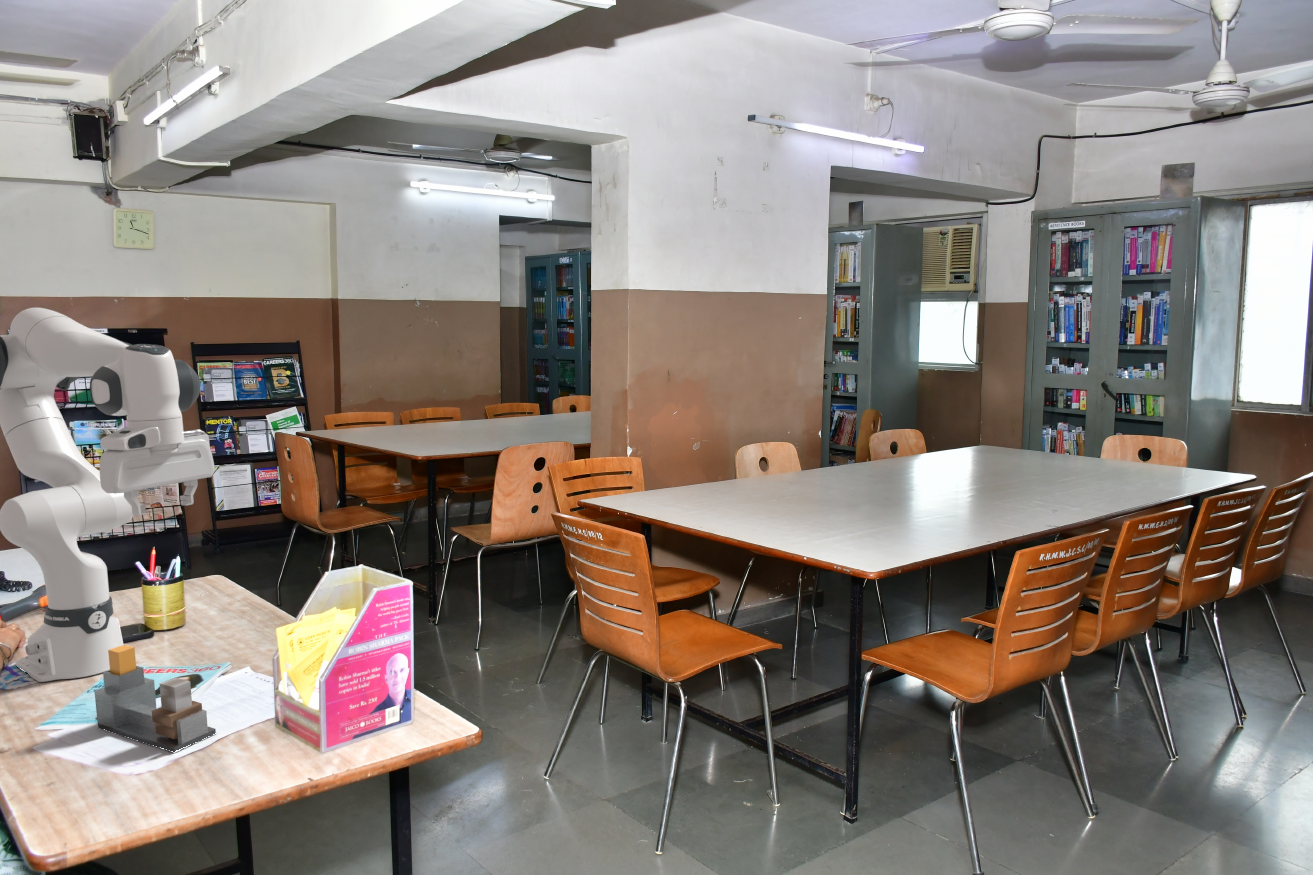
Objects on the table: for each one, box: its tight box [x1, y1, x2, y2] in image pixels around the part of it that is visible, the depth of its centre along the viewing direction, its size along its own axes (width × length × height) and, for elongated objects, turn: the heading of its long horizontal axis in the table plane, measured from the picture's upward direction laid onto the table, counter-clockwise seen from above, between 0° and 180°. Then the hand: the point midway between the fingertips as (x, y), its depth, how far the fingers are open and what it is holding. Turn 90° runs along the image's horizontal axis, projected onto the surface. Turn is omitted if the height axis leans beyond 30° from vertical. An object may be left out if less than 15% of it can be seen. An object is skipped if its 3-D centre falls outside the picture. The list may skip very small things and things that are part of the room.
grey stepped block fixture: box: [94, 665, 217, 752], centre depth 165 cm, size 21×8×10 cm, turn 62°
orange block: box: [108, 644, 137, 675], centre depth 168 cm, size 3×3×5 cm
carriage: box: [152, 676, 203, 739], centre depth 162 cm, size 5×6×9 cm
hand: (164, 509), depth 170 cm, fingers open, 8 cm apart
